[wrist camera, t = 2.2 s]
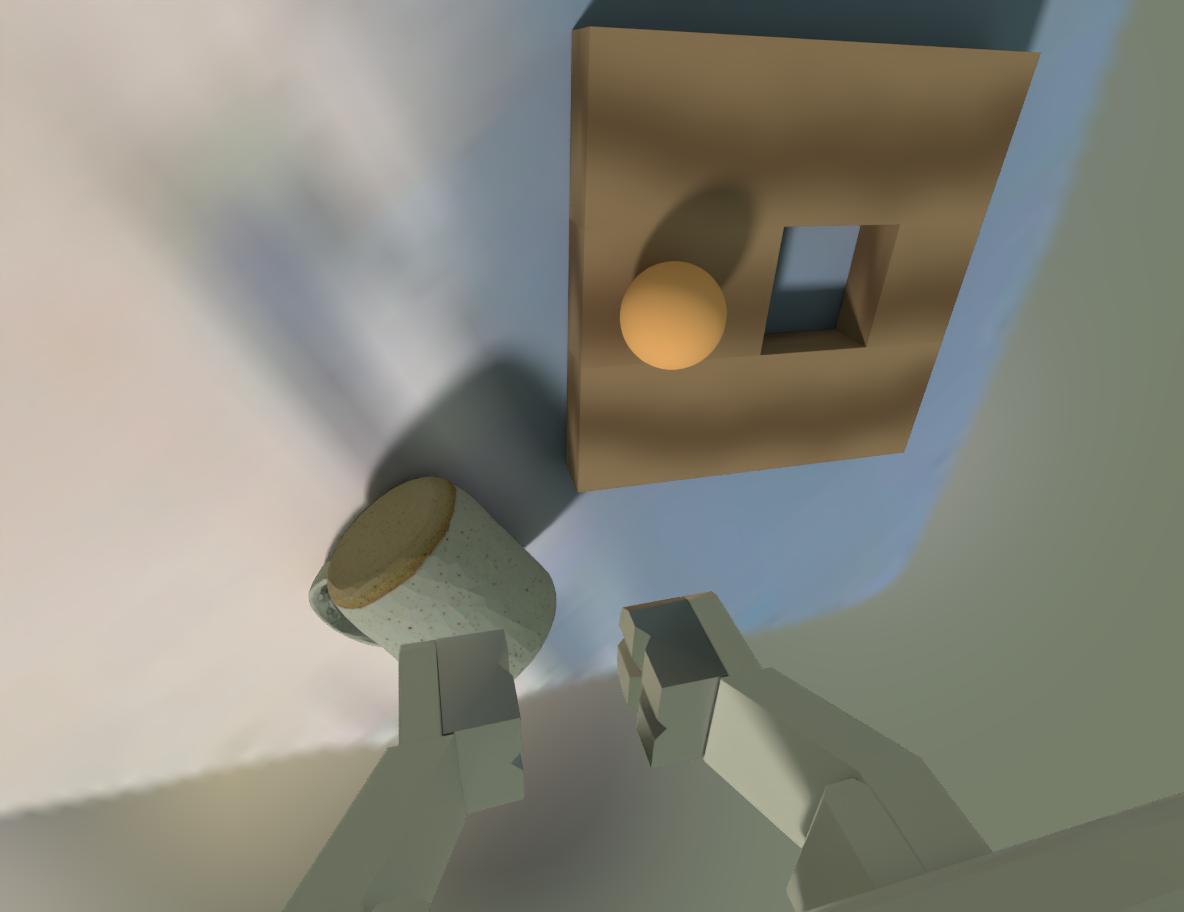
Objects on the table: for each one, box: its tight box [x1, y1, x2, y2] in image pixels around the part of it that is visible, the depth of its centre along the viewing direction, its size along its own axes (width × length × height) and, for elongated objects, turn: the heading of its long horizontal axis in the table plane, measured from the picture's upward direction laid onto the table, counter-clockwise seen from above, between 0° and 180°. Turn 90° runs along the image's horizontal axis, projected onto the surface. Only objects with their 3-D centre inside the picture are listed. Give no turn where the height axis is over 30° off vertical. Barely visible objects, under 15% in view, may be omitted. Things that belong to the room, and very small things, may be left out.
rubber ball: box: [620, 261, 727, 370], centre depth 24 cm, size 4×4×4 cm
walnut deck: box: [566, 26, 1041, 492], centre depth 28 cm, size 18×18×2 cm
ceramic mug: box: [309, 476, 556, 679], centre depth 29 cm, size 11×8×8 cm
